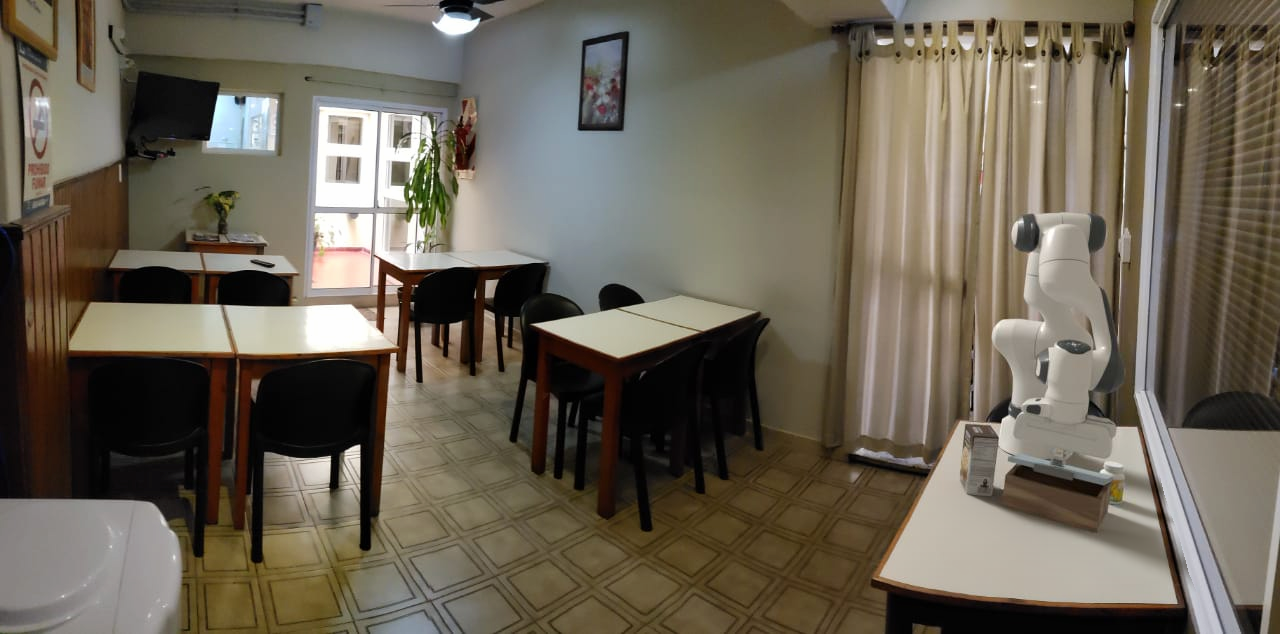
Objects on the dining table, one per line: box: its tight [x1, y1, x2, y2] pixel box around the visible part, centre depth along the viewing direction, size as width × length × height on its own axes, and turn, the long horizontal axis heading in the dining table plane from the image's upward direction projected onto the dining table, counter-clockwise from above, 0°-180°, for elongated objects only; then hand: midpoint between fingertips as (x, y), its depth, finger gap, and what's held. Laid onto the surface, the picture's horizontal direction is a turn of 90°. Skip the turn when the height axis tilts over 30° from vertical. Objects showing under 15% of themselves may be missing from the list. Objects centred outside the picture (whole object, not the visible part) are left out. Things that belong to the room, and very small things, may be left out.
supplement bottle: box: [1099, 460, 1126, 505], centre depth 177 cm, size 5×5×10 cm
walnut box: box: [1001, 463, 1112, 534], centre depth 172 cm, size 14×20×8 cm
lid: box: [1007, 454, 1113, 485], centre depth 171 cm, size 15×20×2 cm
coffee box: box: [959, 423, 999, 497], centre depth 183 cm, size 9×6×16 cm
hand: (1057, 465), depth 169 cm, fingers closed
